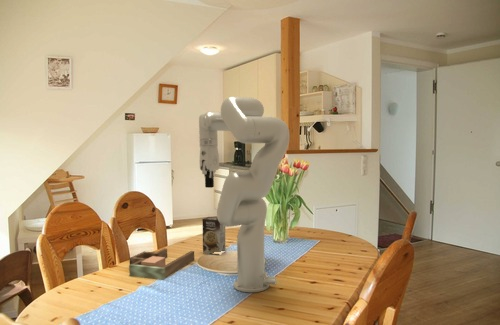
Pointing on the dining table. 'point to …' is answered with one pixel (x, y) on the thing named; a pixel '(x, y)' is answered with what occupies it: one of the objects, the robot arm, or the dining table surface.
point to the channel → (157, 272)
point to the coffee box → (213, 235)
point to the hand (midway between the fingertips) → (209, 187)
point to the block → (154, 261)
